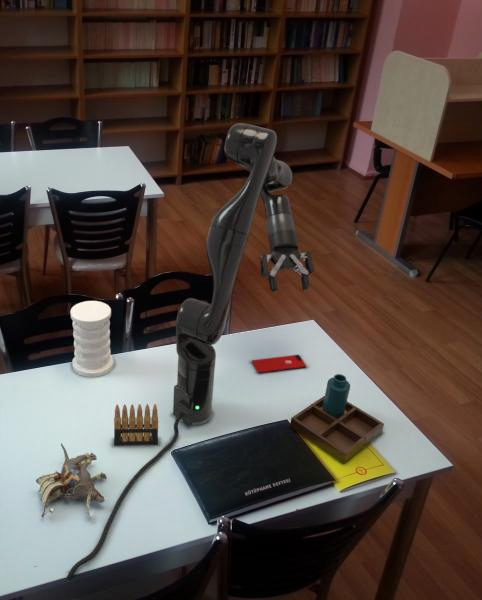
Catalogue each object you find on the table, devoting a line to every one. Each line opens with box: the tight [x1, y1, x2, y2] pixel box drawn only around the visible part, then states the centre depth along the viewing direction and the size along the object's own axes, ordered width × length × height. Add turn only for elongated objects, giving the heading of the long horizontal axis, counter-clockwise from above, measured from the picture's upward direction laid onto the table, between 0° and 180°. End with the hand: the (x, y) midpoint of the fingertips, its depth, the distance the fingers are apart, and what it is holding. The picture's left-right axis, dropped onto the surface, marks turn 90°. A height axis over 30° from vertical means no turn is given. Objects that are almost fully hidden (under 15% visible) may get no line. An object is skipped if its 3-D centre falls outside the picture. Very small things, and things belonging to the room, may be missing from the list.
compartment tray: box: [289, 395, 385, 464], centre depth 157 cm, size 17×17×3 cm
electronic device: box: [251, 354, 307, 374], centre depth 180 cm, size 6×1×15 cm
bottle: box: [322, 373, 351, 419], centre depth 159 cm, size 6×6×12 cm
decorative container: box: [69, 300, 115, 378], centre depth 171 cm, size 12×12×18 cm
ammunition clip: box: [113, 403, 159, 447], centre depth 146 cm, size 11×2×12 cm, turn 95°
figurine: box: [35, 442, 108, 520], centre depth 133 cm, size 20×6×17 cm
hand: (290, 290), depth 163 cm, fingers open, 8 cm apart
